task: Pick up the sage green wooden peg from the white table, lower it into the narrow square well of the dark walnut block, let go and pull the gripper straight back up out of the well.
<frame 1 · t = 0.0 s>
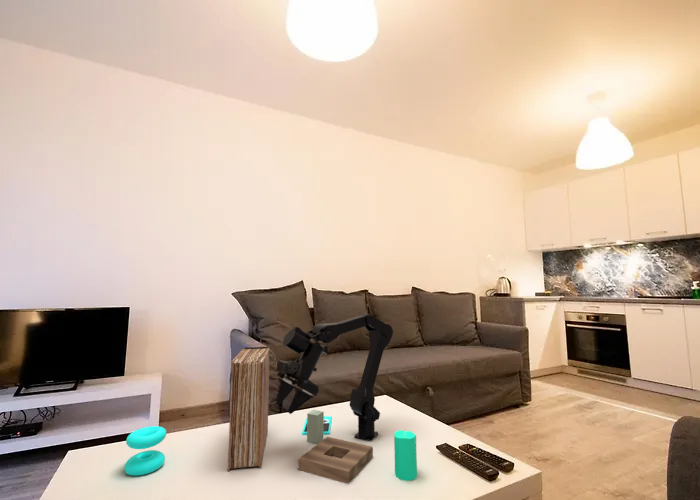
hand: (283, 408, 102), 15 cm above the table, tool tilted 35°, fingers open, 9 cm apart
candle: (405, 475, 92), on the table
handheld game console: (317, 427, 126), on the table
book: (249, 450, 107), on the table
donuts: (144, 469, 97), on the table
sage peg: (315, 440, 114), on the table
walnut well block: (336, 463, 99), on the table
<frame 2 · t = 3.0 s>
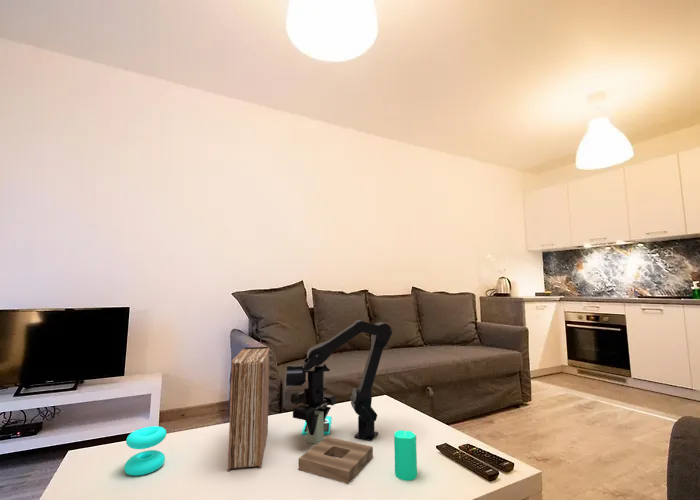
hand: (315, 432, 114), 3 cm above the table, tool pointing down, fingers closed on sage peg, 4 cm apart
sage peg: (315, 440, 114), on the table, touching gripper
everything else where it was.
when the fingers open (4 cm above the table, at t = 9.9 s): sage peg drops 1 cm, resting in walnut well block.
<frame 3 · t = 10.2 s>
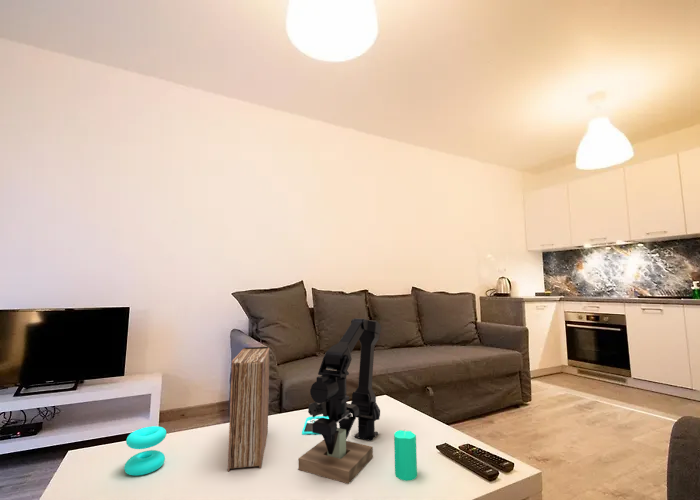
hand: (337, 448, 99), 4 cm above the table, tool pointing down, fingers open, 7 cm apart
sage peg: (336, 463, 99), resting in walnut well block
everything else where it was.
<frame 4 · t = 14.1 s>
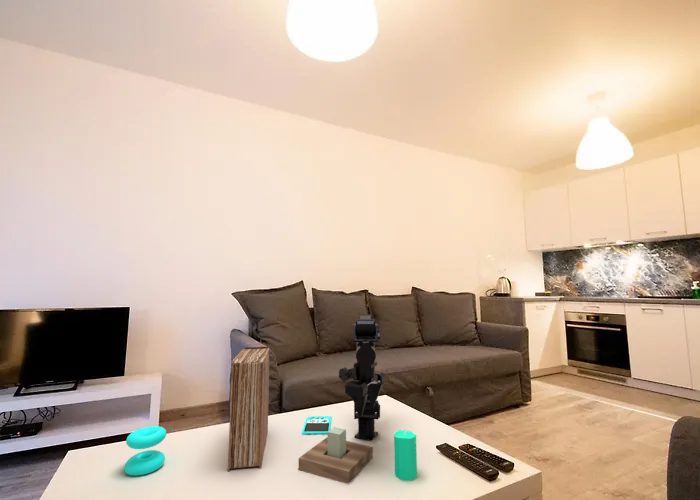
hand: (366, 411, 105), 13 cm above the table, tool pointing down, fingers open, 9 cm apart
nothing on the table moved.
at the end: sage peg 0.1 cm off-centre on the walnut well block, point 0.0 cm above the walnut well block's base; sage peg tilted 0°; the gripper is holding nothing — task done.
